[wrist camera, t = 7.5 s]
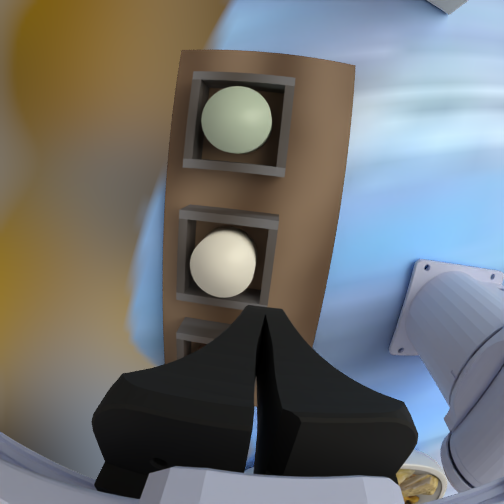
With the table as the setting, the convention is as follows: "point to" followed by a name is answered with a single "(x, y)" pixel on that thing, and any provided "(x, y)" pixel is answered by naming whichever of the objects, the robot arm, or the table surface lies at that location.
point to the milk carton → (448, 4)
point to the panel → (255, 190)
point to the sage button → (237, 120)
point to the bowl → (417, 479)
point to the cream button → (224, 262)
